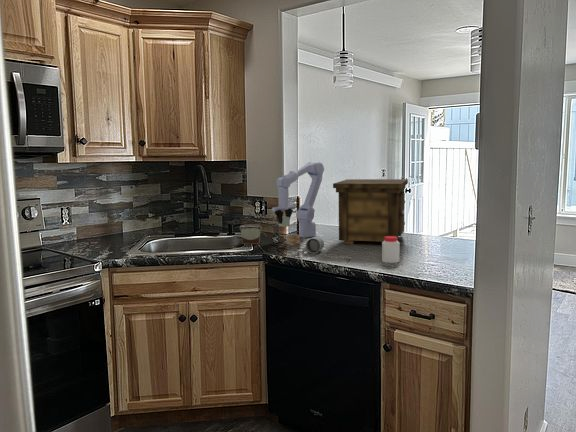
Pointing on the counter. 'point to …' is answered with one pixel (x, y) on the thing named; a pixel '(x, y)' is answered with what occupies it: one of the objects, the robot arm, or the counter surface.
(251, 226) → the food container
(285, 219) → the sage block
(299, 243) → the slab lower
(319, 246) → the ceramic mug
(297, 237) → the slab upper
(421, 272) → the counter surface
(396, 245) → the pill bottle
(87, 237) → the counter surface
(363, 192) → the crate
